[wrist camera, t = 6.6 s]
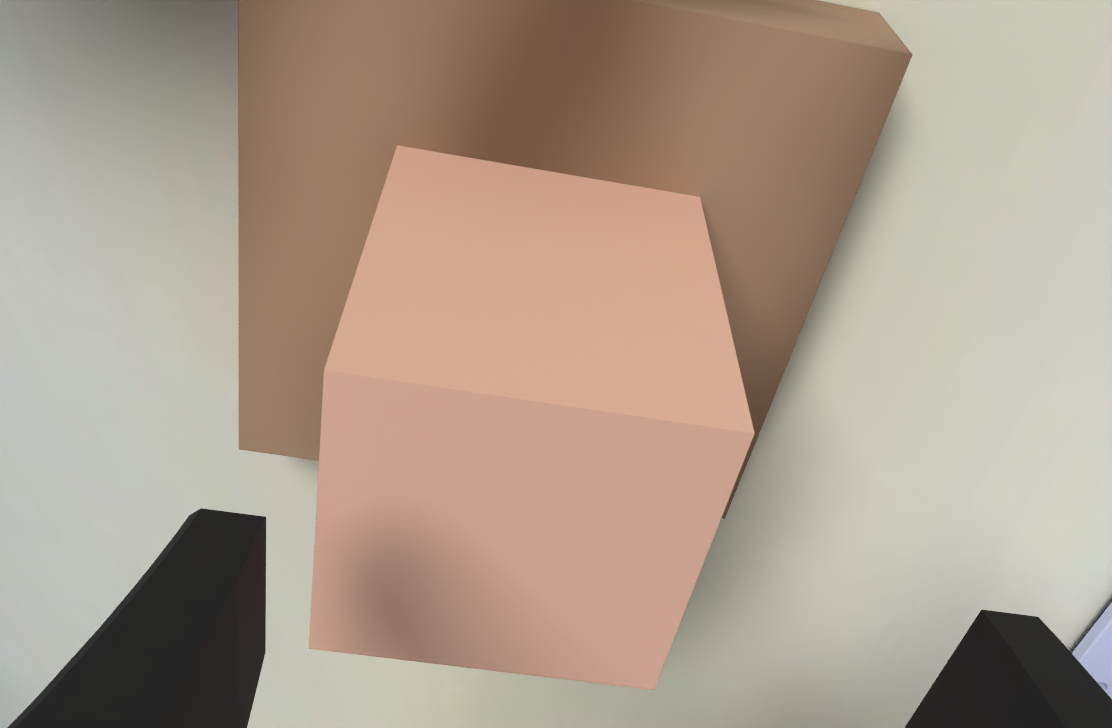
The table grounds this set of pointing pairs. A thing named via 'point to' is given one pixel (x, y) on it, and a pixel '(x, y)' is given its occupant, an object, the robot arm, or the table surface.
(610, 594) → the block
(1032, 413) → the table surface
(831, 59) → the board
